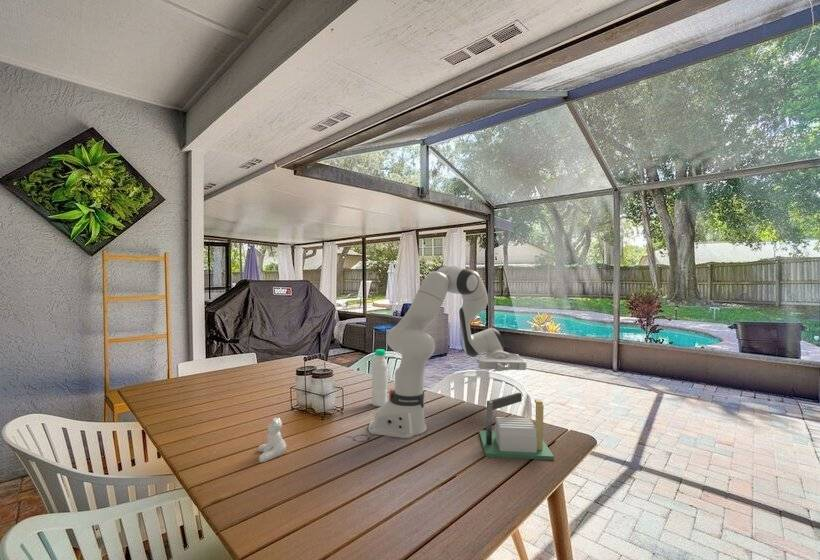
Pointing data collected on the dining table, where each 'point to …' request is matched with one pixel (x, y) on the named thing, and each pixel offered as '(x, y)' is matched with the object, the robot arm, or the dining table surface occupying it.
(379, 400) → the water bottle
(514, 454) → the board
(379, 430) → the robot arm
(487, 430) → the retention bar
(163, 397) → the dining table surface
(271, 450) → the white creature statuette
